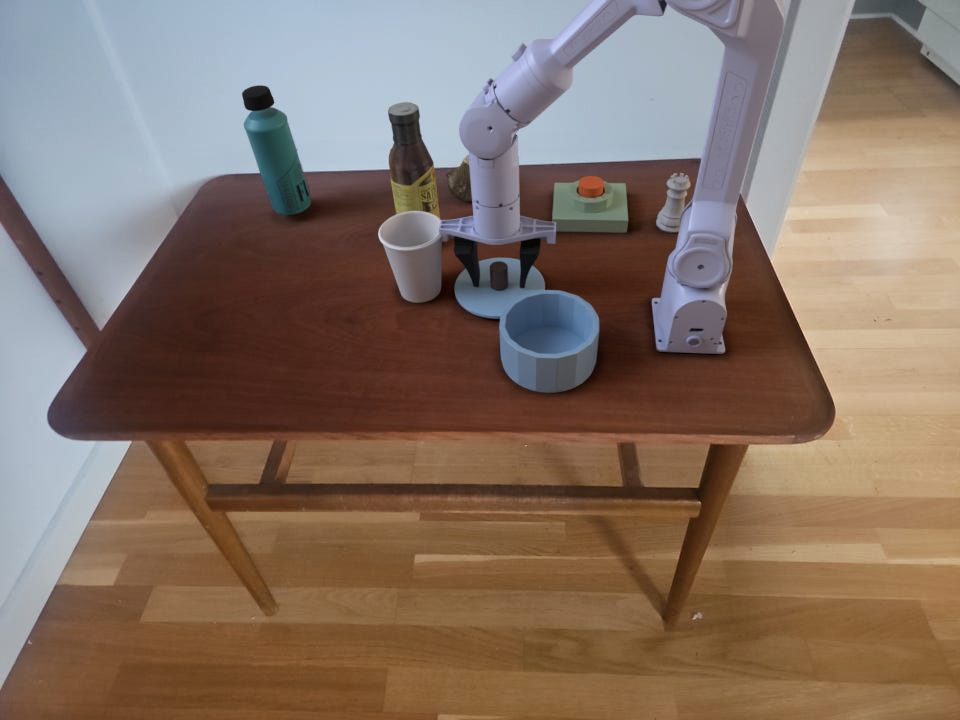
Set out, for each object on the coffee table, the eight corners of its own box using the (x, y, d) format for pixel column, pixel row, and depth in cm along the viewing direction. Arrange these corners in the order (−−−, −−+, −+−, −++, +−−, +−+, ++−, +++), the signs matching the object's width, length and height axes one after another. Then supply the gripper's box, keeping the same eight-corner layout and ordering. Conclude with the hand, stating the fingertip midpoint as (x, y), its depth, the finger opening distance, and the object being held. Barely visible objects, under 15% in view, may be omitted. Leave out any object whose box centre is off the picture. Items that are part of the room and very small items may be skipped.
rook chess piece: (678, 238, 94) (687, 189, 88) (650, 228, 96) (657, 180, 90) (691, 222, 96) (701, 174, 90) (663, 213, 98) (672, 166, 92)
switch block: (626, 232, 95) (629, 209, 92) (551, 231, 96) (552, 208, 94) (624, 195, 102) (626, 172, 99) (554, 194, 103) (554, 172, 100)
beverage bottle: (310, 223, 102) (273, 99, 87) (269, 224, 102) (225, 101, 88) (318, 200, 106) (284, 78, 92) (279, 201, 106) (238, 80, 92)
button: (602, 199, 95) (603, 189, 94) (578, 199, 96) (578, 188, 94) (602, 186, 98) (603, 175, 96) (578, 185, 98) (579, 175, 97)
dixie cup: (379, 300, 88) (365, 240, 81) (408, 264, 93) (398, 205, 86) (433, 315, 85) (424, 254, 78) (460, 277, 90) (454, 217, 83)
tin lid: (542, 323, 83) (543, 298, 80) (449, 320, 84) (445, 295, 81) (546, 264, 91) (547, 239, 88) (461, 262, 93) (458, 237, 89)
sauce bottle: (436, 251, 95) (419, 122, 80) (395, 248, 96) (371, 120, 81) (446, 225, 99) (432, 99, 85) (407, 223, 100) (386, 97, 86)
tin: (596, 395, 74) (599, 360, 70) (497, 390, 76) (495, 355, 71) (595, 326, 82) (598, 291, 78) (505, 323, 83) (504, 288, 79)
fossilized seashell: (496, 156, 108) (441, 178, 107) (497, 135, 101) (437, 158, 101) (514, 194, 106) (458, 217, 106) (516, 176, 100) (456, 199, 99)
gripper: (557, 176, 79) (555, 265, 88) (440, 176, 80) (450, 262, 90) (556, 209, 74) (553, 299, 84) (431, 208, 76) (443, 296, 85)
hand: (499, 282), depth 87 cm, fingers open, 6 cm apart
